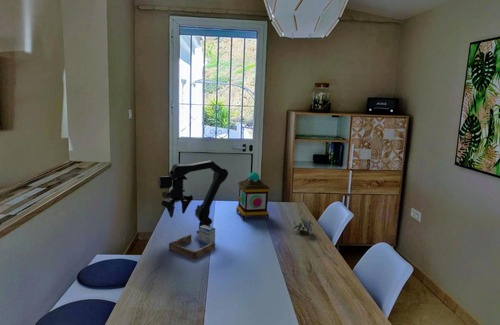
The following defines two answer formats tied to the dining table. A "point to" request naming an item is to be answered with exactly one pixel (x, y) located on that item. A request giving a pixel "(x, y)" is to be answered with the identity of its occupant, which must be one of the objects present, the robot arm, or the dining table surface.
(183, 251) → the frame
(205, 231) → the medicine box
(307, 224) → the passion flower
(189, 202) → the robot arm
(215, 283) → the dining table surface
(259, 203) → the decorative lantern
